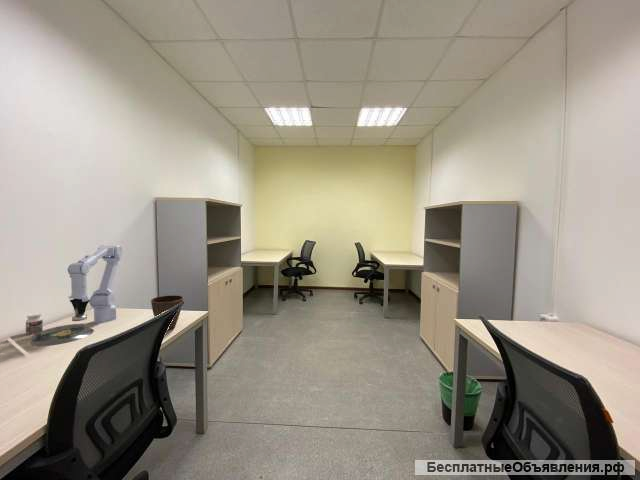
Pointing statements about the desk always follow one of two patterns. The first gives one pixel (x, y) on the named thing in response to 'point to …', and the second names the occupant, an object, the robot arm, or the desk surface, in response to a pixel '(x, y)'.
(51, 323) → the desk surface
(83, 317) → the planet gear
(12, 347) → the desk surface
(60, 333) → the dark grey round tray
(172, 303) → the plant pot
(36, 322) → the pill bottle
